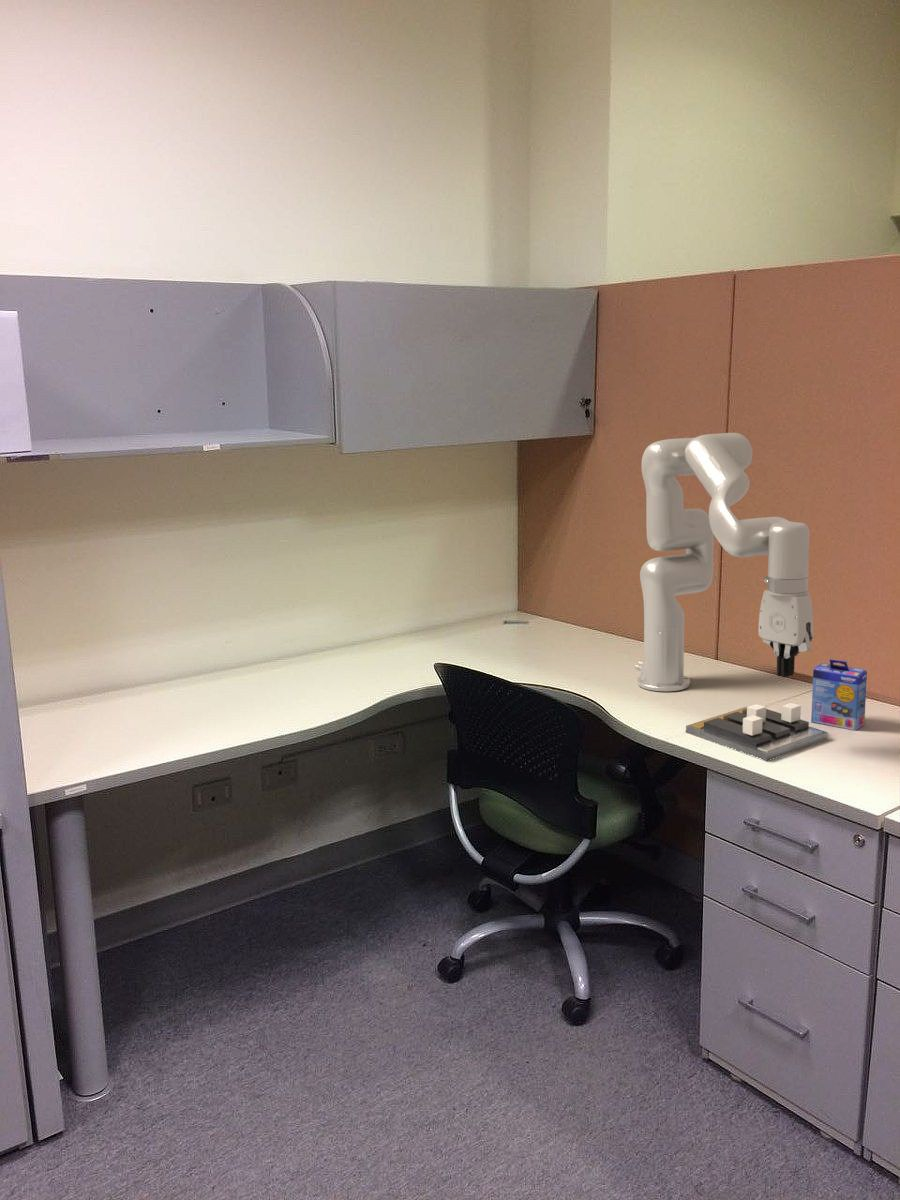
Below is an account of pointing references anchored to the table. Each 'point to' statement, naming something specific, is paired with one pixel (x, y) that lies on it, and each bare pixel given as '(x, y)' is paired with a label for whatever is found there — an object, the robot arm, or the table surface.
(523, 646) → the table surface
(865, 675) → the ink cartridge box
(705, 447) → the robot arm
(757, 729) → the cream upright box
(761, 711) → the matte ivory cube
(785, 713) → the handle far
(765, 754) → the panel
